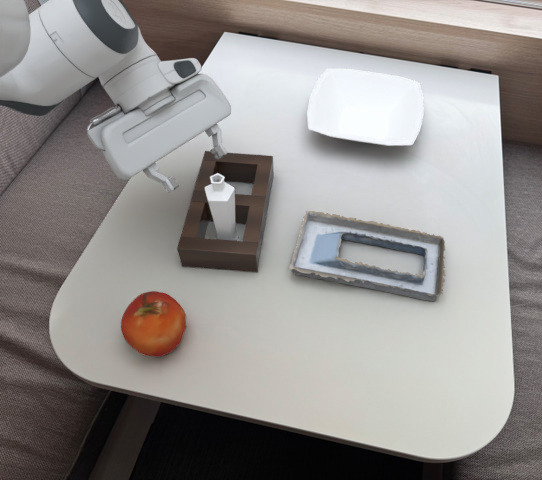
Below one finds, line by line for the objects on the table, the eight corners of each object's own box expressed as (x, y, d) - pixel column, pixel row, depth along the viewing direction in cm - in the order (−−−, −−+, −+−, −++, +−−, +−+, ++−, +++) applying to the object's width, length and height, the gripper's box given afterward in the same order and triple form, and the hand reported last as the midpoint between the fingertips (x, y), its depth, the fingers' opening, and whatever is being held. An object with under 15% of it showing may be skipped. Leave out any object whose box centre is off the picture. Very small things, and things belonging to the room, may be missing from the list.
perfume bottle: (219, 226, 91) (209, 164, 79) (243, 233, 90) (235, 171, 78) (208, 246, 88) (195, 185, 76) (232, 253, 88) (223, 192, 76)
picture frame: (304, 219, 93) (305, 208, 91) (444, 242, 91) (448, 232, 89) (288, 280, 85) (288, 270, 82) (441, 307, 83) (445, 297, 80)
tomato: (175, 371, 74) (164, 346, 68) (116, 354, 76) (100, 328, 69) (201, 317, 80) (193, 289, 74) (146, 301, 81) (134, 273, 75)
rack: (257, 272, 85) (256, 254, 81) (181, 266, 85) (176, 248, 81) (273, 175, 99) (272, 155, 95) (208, 170, 99) (204, 150, 95)
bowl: (415, 171, 101) (420, 150, 97) (298, 153, 103) (298, 131, 99) (421, 101, 115) (427, 79, 110) (318, 86, 117) (319, 63, 112)
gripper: (83, 119, 66) (149, 208, 71) (205, 53, 76) (256, 135, 81) (75, 130, 72) (136, 213, 76) (189, 67, 82) (238, 144, 86)
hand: (198, 172), depth 78 cm, fingers open, 8 cm apart
